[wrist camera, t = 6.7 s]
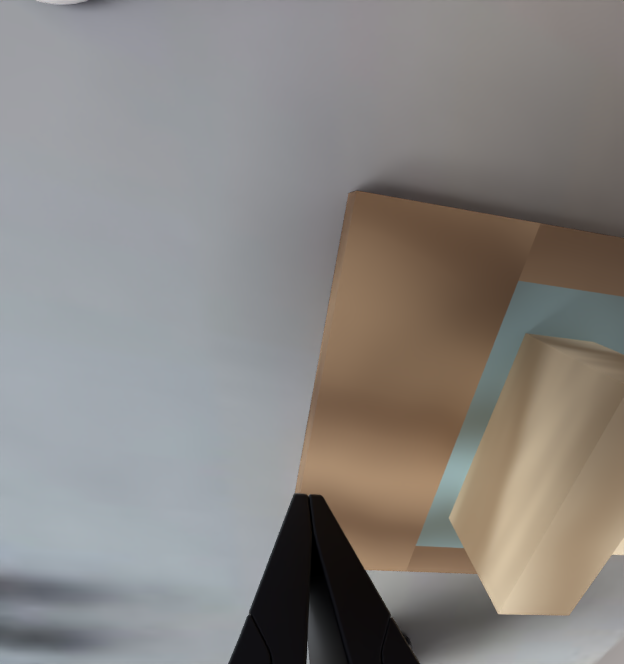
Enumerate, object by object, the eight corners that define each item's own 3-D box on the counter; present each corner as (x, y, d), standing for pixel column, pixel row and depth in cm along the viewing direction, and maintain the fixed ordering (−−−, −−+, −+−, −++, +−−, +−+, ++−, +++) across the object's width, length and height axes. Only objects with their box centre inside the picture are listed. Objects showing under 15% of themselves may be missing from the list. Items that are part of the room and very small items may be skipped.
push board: (572, 552, 20) (593, 578, 18) (286, 538, 17) (286, 567, 16) (756, 265, 13) (810, 271, 12) (348, 193, 11) (356, 190, 10)
